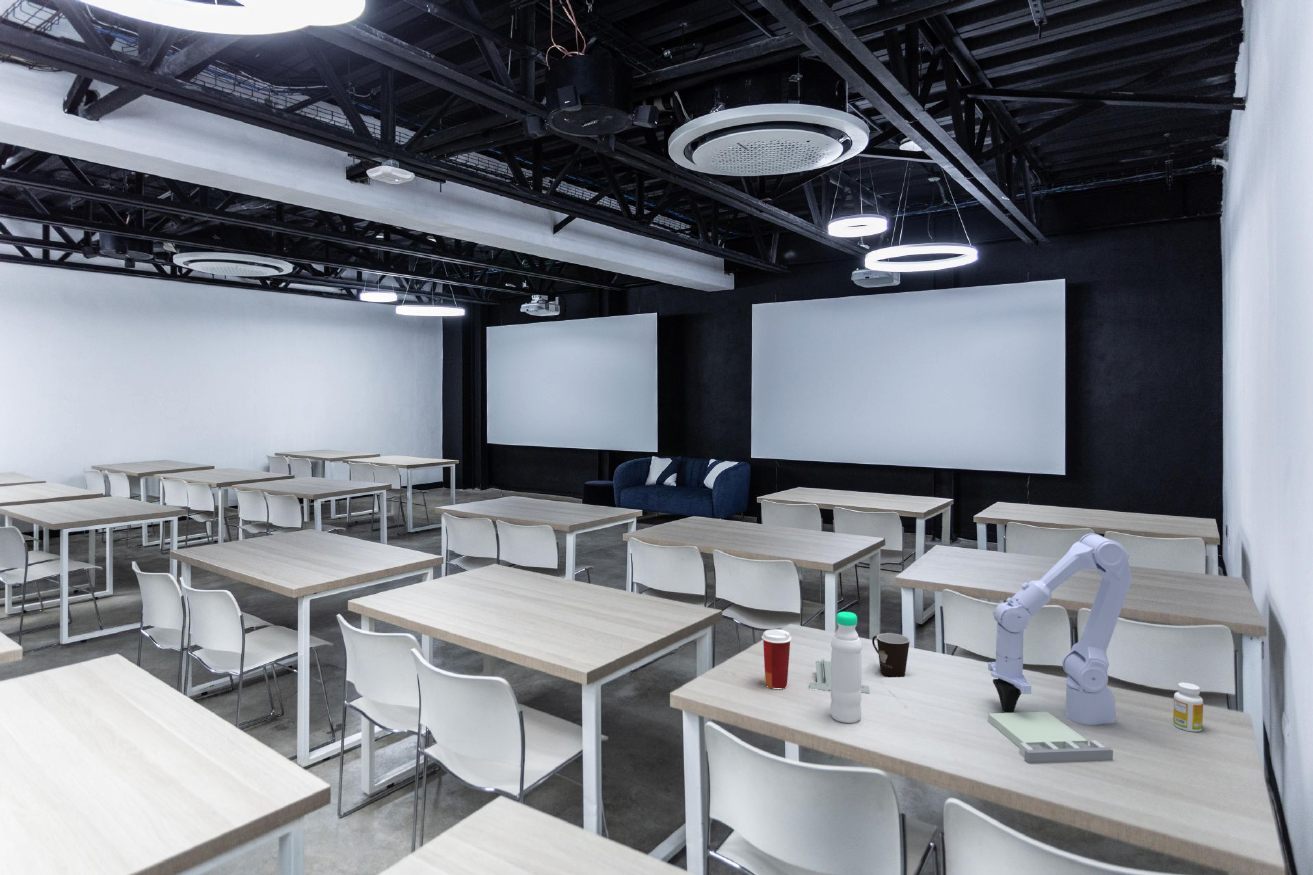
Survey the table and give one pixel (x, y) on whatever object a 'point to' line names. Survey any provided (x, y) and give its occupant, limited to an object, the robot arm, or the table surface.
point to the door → (1036, 729)
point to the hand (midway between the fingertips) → (1008, 711)
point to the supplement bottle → (1188, 708)
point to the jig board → (1066, 753)
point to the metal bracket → (828, 677)
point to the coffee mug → (892, 654)
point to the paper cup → (776, 657)
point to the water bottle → (846, 670)
